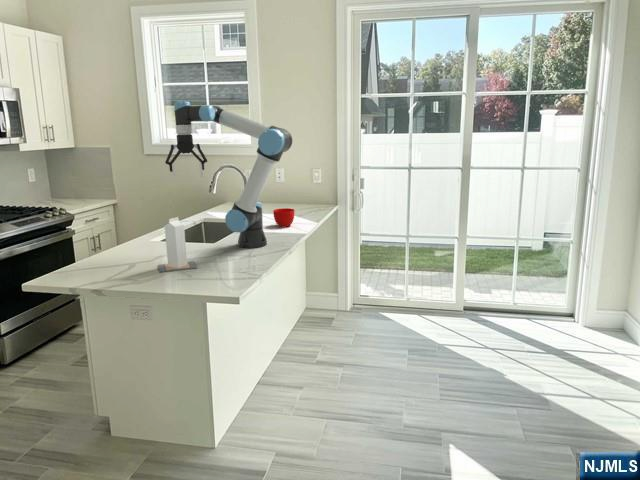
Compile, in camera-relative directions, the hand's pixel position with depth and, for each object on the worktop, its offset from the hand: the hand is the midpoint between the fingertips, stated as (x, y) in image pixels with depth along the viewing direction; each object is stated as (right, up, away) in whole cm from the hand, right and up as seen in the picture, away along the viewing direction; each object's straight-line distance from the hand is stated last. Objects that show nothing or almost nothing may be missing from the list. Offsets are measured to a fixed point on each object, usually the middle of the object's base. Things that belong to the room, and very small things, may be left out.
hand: (187, 177), depth 252 cm
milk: (+2, -43, -24) cm, 50 cm away
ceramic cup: (+44, -22, +61) cm, 79 cm away
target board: (+2, -44, -24) cm, 50 cm away
